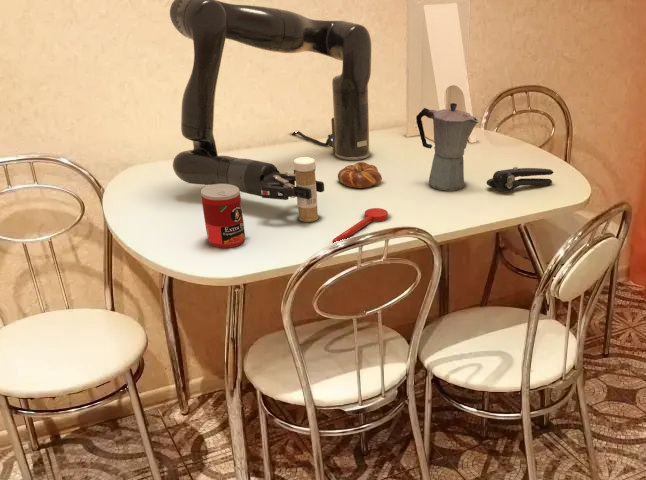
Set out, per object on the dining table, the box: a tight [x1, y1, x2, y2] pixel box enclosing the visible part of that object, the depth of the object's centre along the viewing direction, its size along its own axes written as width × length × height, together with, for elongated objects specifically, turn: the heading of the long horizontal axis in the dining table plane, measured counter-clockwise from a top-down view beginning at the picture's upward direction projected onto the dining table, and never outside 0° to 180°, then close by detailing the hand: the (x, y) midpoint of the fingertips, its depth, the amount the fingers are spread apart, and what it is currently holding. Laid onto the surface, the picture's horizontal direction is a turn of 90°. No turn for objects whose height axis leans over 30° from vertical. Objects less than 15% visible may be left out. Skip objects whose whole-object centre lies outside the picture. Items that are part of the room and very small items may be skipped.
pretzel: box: [337, 161, 383, 189], centre depth 193 cm, size 12×11×4 cm
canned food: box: [200, 184, 246, 249], centre depth 159 cm, size 8×8×11 cm
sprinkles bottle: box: [293, 156, 319, 223], centre depth 169 cm, size 5×5×14 cm
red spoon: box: [331, 207, 389, 244], centre depth 169 cm, size 20×5×1 cm, turn 154°
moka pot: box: [415, 103, 480, 192], centre depth 187 cm, size 10×15×20 cm, turn 78°
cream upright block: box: [405, 0, 477, 144], centre depth 215 cm, size 20×14×40 cm
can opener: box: [486, 166, 554, 193], centre depth 191 cm, size 18×7×6 cm, turn 113°
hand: (316, 190), depth 168 cm, fingers closed on sprinkles bottle, 4 cm apart
